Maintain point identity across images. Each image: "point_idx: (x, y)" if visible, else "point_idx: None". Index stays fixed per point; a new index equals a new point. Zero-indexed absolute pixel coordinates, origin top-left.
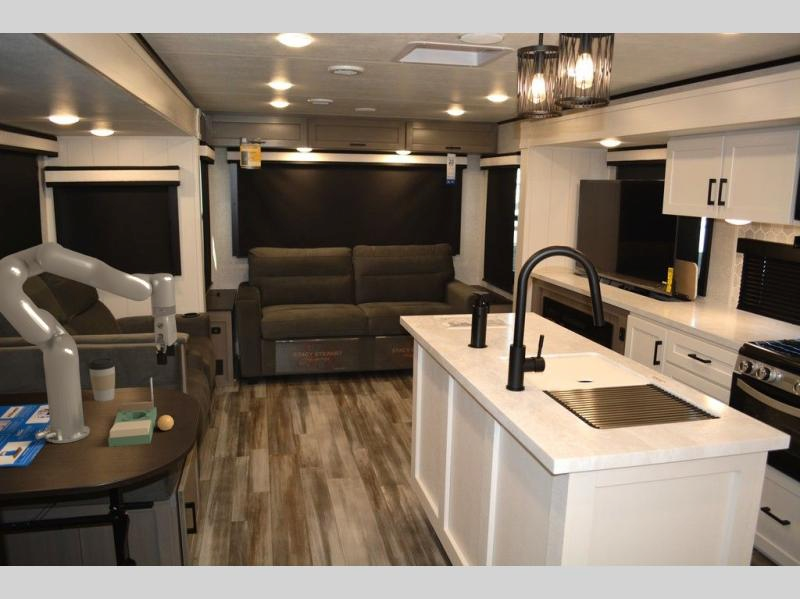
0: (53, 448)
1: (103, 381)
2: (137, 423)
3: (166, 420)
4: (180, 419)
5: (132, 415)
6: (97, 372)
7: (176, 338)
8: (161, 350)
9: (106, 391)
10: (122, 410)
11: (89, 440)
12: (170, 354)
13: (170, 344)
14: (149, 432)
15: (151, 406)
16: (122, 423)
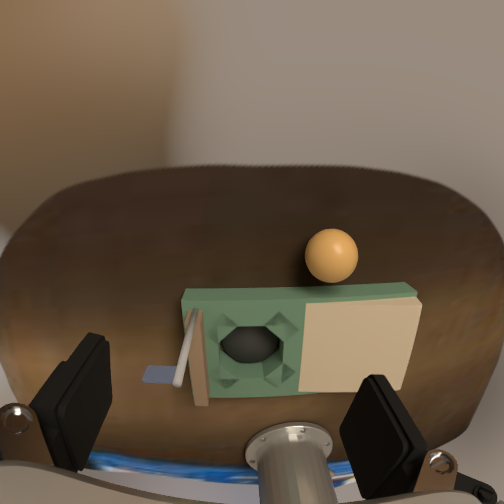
0: None
1: None
2: (343, 339)
3: (357, 255)
4: (241, 207)
5: (220, 359)
6: None
7: (53, 493)
8: (478, 484)
9: None
10: (209, 391)
11: (331, 412)
12: (105, 377)
13: (466, 496)
14: (404, 294)
15: (201, 318)
16: (319, 376)
